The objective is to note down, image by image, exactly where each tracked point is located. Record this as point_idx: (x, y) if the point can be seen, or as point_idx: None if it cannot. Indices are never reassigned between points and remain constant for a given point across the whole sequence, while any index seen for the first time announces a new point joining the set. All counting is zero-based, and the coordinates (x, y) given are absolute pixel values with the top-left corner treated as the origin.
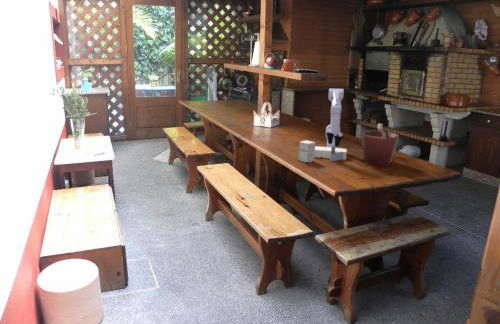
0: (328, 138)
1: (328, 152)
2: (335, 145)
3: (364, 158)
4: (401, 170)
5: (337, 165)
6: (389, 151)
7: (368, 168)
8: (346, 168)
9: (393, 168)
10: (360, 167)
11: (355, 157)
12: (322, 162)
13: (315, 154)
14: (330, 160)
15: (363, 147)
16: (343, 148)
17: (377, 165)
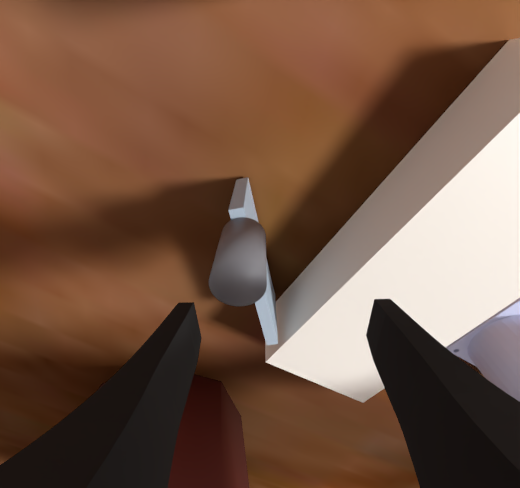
0: (435, 375)
1: (368, 243)
2: (171, 313)
3: (189, 391)
4: (24, 421)
5: (110, 174)
6: None
7: (40, 328)
8: (17, 199)
9: (55, 413)
10: (59, 301)
11: (289, 375)
12: (233, 74)
13: (466, 112)
14: (239, 180)
15: (176, 474)
16: (376, 389)
17: (101, 386)
